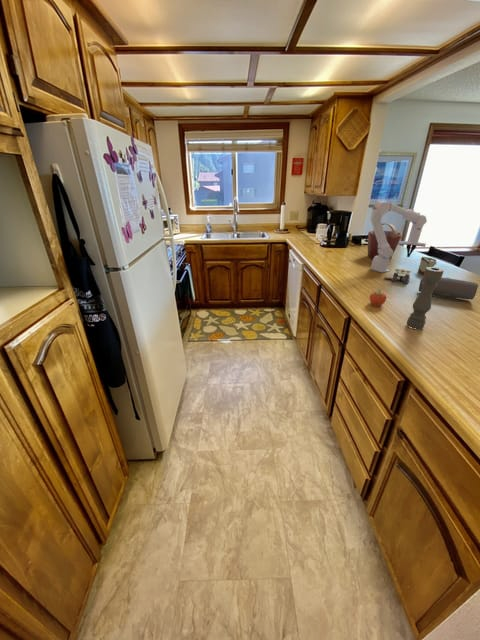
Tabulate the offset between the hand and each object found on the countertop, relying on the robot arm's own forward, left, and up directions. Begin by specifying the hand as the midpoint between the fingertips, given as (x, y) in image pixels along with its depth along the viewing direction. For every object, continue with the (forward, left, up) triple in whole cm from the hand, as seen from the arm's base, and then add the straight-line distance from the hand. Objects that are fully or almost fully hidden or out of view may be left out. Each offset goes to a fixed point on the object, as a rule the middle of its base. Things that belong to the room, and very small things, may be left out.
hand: (408, 256), depth 171 cm
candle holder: (+49, -66, -10) cm, 83 cm away
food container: (+12, +4, -10) cm, 16 cm away
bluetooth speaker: (+37, -23, -10) cm, 45 cm away
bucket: (-29, +14, -10) cm, 34 cm away
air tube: (+10, -21, -9) cm, 25 cm away
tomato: (+27, -62, -10) cm, 68 cm away
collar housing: (+11, -21, -9) cm, 25 cm away
